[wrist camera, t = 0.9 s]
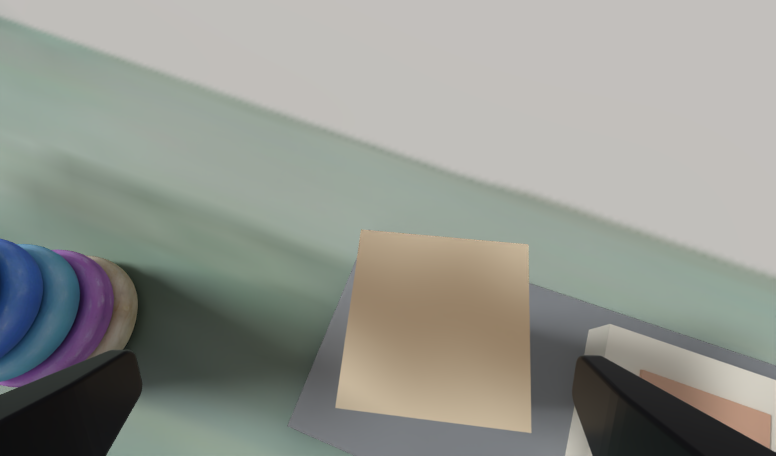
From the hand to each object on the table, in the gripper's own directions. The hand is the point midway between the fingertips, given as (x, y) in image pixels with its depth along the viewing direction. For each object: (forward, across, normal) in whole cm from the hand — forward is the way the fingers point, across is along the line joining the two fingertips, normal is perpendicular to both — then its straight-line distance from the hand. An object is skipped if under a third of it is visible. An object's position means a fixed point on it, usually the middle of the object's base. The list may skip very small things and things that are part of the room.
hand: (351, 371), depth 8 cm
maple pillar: (+12, -2, +8) cm, 15 cm away
